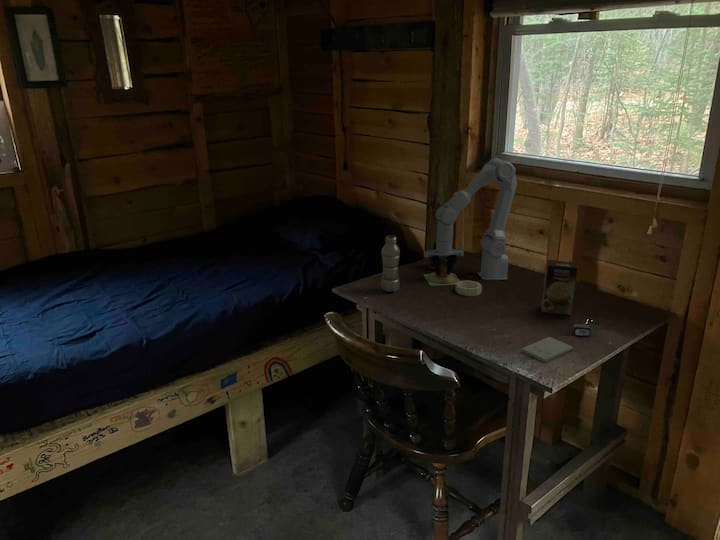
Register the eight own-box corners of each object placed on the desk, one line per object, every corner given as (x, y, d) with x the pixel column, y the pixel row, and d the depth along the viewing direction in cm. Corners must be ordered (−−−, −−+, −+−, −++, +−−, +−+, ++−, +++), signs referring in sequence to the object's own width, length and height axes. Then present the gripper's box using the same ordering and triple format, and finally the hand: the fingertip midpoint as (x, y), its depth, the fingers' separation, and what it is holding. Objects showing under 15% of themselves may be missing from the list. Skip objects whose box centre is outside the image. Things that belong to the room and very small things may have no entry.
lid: (452, 274, 214) (453, 259, 213) (460, 283, 205) (461, 268, 203) (425, 275, 213) (426, 260, 211) (432, 284, 204) (432, 269, 202)
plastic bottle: (402, 292, 198) (404, 238, 191) (385, 295, 196) (386, 240, 189) (395, 286, 204) (396, 233, 197) (377, 289, 201) (378, 235, 195)
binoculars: (461, 246, 217) (439, 247, 213) (457, 272, 220) (436, 274, 216) (448, 240, 225) (427, 241, 220) (445, 266, 228) (424, 267, 223)
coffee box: (541, 312, 181) (546, 265, 176) (540, 304, 187) (546, 259, 182) (571, 315, 179) (577, 267, 174) (570, 307, 185) (576, 261, 180)
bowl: (476, 288, 202) (476, 280, 201) (483, 296, 194) (484, 288, 193) (453, 288, 201) (453, 281, 200) (459, 297, 193) (460, 289, 192)
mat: (453, 274, 215) (454, 273, 215) (462, 285, 204) (462, 284, 204) (423, 275, 214) (423, 274, 214) (430, 287, 203) (430, 285, 203)
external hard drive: (572, 352, 157) (544, 364, 150) (547, 341, 163) (520, 353, 156) (573, 346, 156) (545, 359, 149) (548, 336, 163) (520, 347, 156)
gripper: (461, 235, 208) (458, 270, 213) (422, 237, 207) (421, 271, 211) (466, 241, 202) (464, 276, 206) (426, 242, 200) (425, 278, 205)
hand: (442, 274), depth 208 cm, fingers open, 4 cm apart
